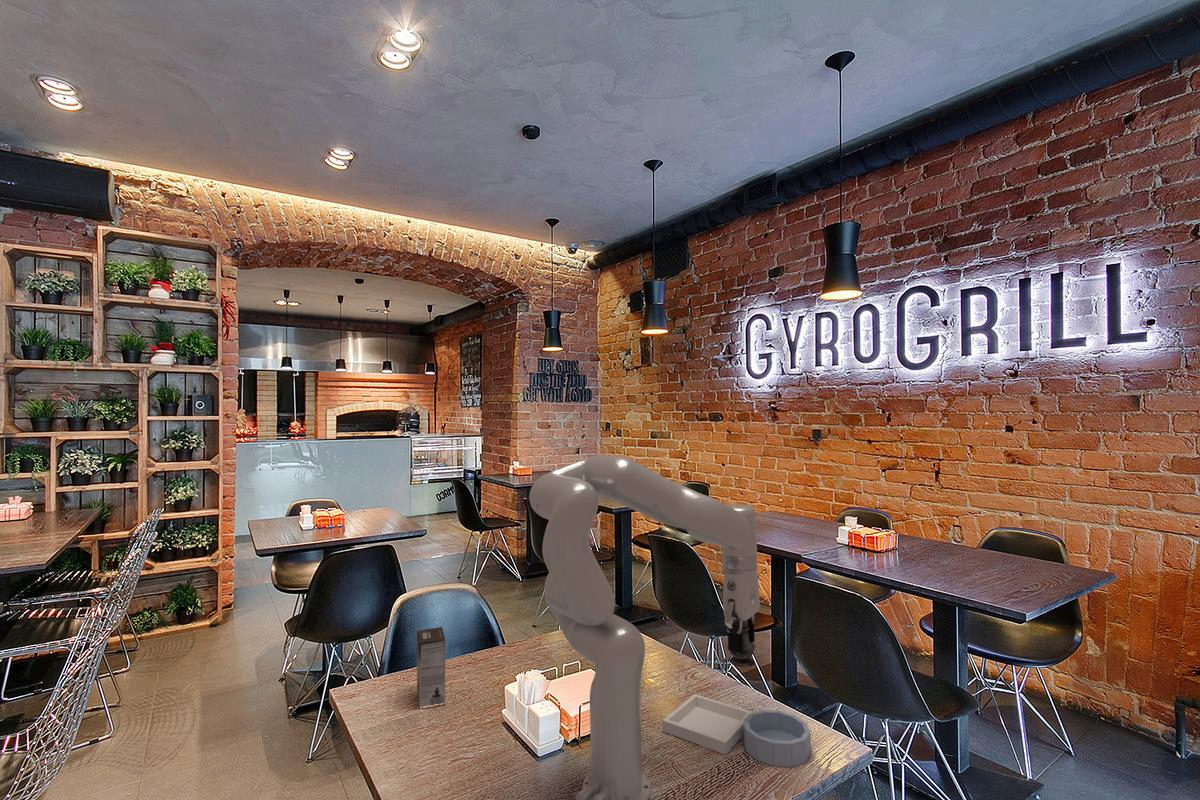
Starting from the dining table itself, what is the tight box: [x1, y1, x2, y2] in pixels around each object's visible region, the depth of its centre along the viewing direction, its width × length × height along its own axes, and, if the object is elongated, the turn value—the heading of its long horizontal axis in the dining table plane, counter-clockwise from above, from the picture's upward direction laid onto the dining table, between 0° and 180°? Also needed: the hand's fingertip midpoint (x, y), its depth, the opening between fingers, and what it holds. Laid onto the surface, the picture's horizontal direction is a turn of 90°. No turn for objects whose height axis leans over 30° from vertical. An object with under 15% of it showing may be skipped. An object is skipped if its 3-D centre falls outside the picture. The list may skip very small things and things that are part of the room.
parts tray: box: [662, 693, 754, 756], centre depth 128 cm, size 15×15×2 cm
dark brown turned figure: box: [729, 615, 756, 668], centre depth 125 cm, size 6×6×12 cm
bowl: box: [743, 709, 812, 768], centre depth 120 cm, size 13×13×4 cm
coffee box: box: [416, 626, 446, 707], centre depth 143 cm, size 9×6×16 cm
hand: (741, 645), depth 125 cm, fingers closed on dark brown turned figure, 5 cm apart
